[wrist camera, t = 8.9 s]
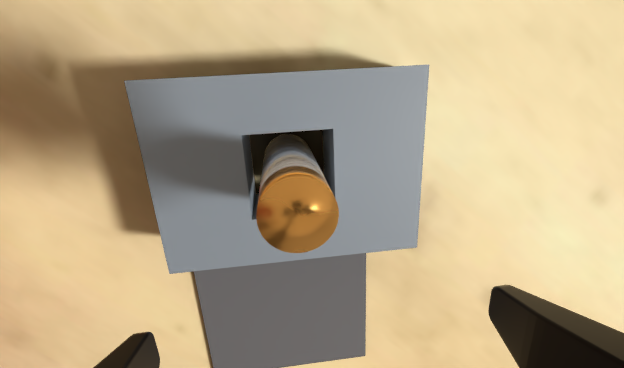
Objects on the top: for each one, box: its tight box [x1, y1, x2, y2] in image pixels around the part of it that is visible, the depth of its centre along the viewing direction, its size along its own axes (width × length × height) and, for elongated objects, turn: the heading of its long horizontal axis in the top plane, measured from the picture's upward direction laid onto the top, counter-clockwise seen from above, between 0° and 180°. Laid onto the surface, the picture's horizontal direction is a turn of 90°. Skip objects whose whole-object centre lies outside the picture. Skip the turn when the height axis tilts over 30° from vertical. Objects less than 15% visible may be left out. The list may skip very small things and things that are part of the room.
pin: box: [256, 134, 339, 253], centre depth 16 cm, size 3×3×9 cm
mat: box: [194, 253, 366, 368], centre depth 23 cm, size 12×10×1 cm
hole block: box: [124, 65, 429, 274], centre depth 18 cm, size 14×10×4 cm
